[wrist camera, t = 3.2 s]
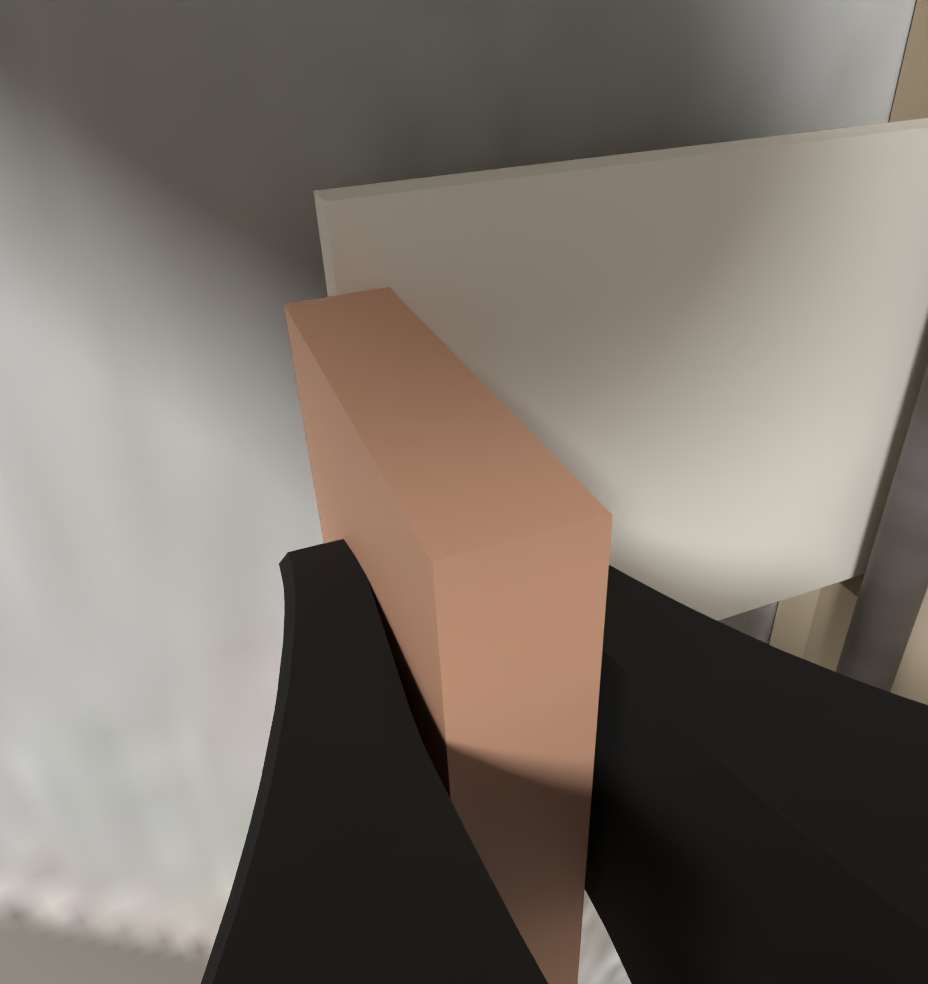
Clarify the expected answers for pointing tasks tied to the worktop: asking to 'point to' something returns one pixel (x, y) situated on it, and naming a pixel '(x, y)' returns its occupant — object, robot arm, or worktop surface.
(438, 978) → the robot arm
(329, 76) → the worktop surface
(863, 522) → the beige angled piece
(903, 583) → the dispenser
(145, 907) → the worktop surface
